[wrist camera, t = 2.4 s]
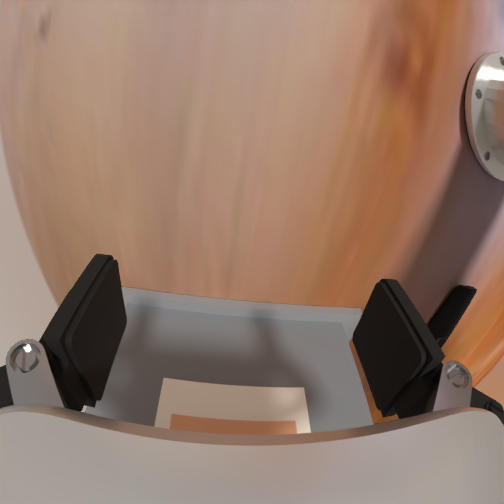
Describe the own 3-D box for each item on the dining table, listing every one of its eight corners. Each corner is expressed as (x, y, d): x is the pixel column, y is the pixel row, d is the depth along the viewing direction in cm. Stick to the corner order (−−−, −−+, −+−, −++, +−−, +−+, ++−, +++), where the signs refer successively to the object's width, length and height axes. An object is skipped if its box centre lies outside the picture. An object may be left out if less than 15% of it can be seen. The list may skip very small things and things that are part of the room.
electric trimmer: (471, 275, 26) (486, 291, 23) (414, 364, 34) (422, 381, 31) (452, 273, 25) (467, 290, 23) (394, 366, 33) (402, 384, 30)
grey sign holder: (360, 308, 26) (419, 469, 12) (337, 353, 30) (372, 494, 16) (109, 284, 24) (37, 451, 10) (121, 335, 28) (76, 479, 13)
